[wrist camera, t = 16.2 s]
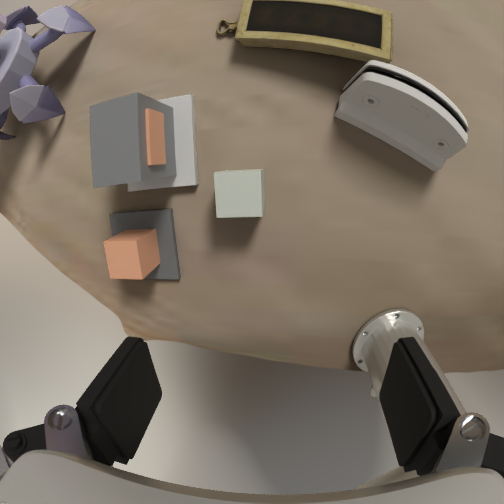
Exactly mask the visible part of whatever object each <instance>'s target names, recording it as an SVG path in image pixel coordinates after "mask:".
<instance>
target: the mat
mask: <svg viewBox="0 0 504 504" xmlns="http://www.w3.org/2000/svg"><path fill="white" fill-rule="evenodd" d="M110 222H111V229H112V235H113V236H115V235H117V234H119V233H121V232H123V231H125V230H137V229H156V233H157V241H158V249H159V256H160V264H159V265H158V266H157V267H156V268H155V269H153V270H152V271H151V272H150V273H149V274H148V275H147V276H146V277H145V278H144V279H180V277H181V276H180V269H179V261H178V254H177V246H176V238H175V229H174V220H173V211H172V209H159V210H146V211H134V212H123V213H112V214H110Z"/></svg>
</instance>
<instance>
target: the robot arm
mask: <svg viewBox="0 0 504 504" xmlns="http://www.w3.org/2000/svg"><path fill="white" fill-rule="evenodd" d="M423 338H424V328H423V324H422V322H421V320H420V319H419V318H418V317H417V315H415V314H414V313H413V312H411V311H409V310H405V309H392V310H388V311H385V312H382V313H380V314H378V315H376V316H374V317H373V318H372V319H370V320H369V321H368V322H367V323H366V324H365V325H364V326H363V327H362V328H361V329H360V331H359V332H358V333H357V335H356V337H355V339H354V343H353V349H352V352H353V357H354V360H355V363H356V364H357V366H358V367H359V368H360V369H361V370H363V371H365V372H367V373H369V374H370V377H371V380H372V383H373V385H372V387H371V390H370V395H371V396H372V397H377V398H378V401H379V403H380V407H381V410H382V413H383V416H384V420H385V423H386V426H387V429H388V432H389V435H390V437H391V439H392V442H393V446H394V449H395V453H396V457H397V460H398V463H399V465H400V466H399V467H397V468H395V469H393V470H391V471H389V472H387V473H385V474H383V475H381V476H379V477H376V478H374V479H372V480H370V481H368V482H365V483H364V484H361V485H359V486H358V487H356V488H354V489H353V490H347V491H339V492H330V493H317V494H299V495H298V494H296V495H265V494H245V493H232V492H223V491H215V490H207V489H201V488H195V487H189V486H183V485H178V484H173V483H168V482H164V481H160V480H155V479H151V478H148V477H144V476H140V475H137V474H134V473H130V472H127V471H123V470H120V469H117V468H114V467H113V463H114V461H116V462H119V463H122V464H127V463H128V461H129V459H132V458H133V457H134V455H135V453H136V451H137V449H138V447H139V444H140V442H141V440H142V438H143V436H144V434H145V431H146V429H147V427H148V425H149V423H150V420H151V419H152V416H153V414H154V412H155V410H156V408H157V406H158V404H159V402H160V400H161V397H162V390H161V387H160V384H159V381H158V378H157V375H156V372H155V369H154V365H153V362H152V359H151V355H150V352H149V349H148V345H147V343H146V342H144V341H143V339H142V338H137V337H127V338H126V339H125V340H124V341H123V343H122V344H121V345H120V346H119V348H118V349H117V350H116V351H115V353H114V354H113V355H112V357H111V358H110V359H109V360H108V362H107V363H106V364H105V366H104V367H103V368H102V370H101V371H100V372H99V373H98V375H97V376H96V377H95V379H94V380H93V381H92V383H91V384H90V385H89V387H88V388H87V389H86V391H85V392H84V393H83V395H82V396H81V398H80V399H79V400H78V402H77V403H76V404H77V407H76V408H75V409H74V408H73V407H71V406H69V405H59V406H56V407H54V408H52V409H51V410H50V411H49V412H48V413H47V414H46V416H45V420H44V424H41V425H37V426H34V427H30V428H26V429H23V430H18V431H14V432H12V433H10V434H9V435H7V437H6V438H5V440H4V442H3V447H1V446H0V504H504V438H503V437H500V436H497V435H494V434H491V433H490V426H489V423H488V422H487V420H486V419H485V418H484V417H483V416H482V415H480V414H478V413H472V412H471V413H467V411H466V410H465V408H464V407H463V405H462V403H461V402H460V400H459V398H458V397H457V395H456V393H455V392H454V390H453V388H452V387H451V385H450V383H449V382H448V380H447V378H446V376H445V375H444V373H443V372H442V370H441V368H440V367H439V365H438V364H437V362H436V360H435V359H434V357H433V356H432V354H431V353H430V351H429V350H428V348H427V346H426V345H425V343H424V342H423Z"/></svg>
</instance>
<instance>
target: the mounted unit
mask: <svg viewBox="0 0 504 504" xmlns="http://www.w3.org/2000/svg"><path fill="white" fill-rule="evenodd" d="M90 144H91V162H92V175H93V186H94V188H99V187H105V186H111V185H118V184H125V183H127V185H128V192H131V191H139V190H148V189H157V188H167V187H178V186H190V185H198V184H199V183H198V169H197V152H196V133H195V109H194V96H193V95H192V94H189V95H183V96H177V97H172V98H166V99H161V100H154V99H152V98H150V97H147V96H145V95H143V94H140V93H134V94H130V95H126V96H122V97H119V98H115V99H112V100H109V101H105V102H102V103H99V104H96V105H93V106H90Z"/></svg>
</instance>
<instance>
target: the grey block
mask: <svg viewBox="0 0 504 504" xmlns="http://www.w3.org/2000/svg"><path fill="white" fill-rule="evenodd" d="M214 182H215V199H216V214H217V218H228V217H262V216H263V213H264V210H265V191H264V169H250V170H229V171H220V172H214Z"/></svg>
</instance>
